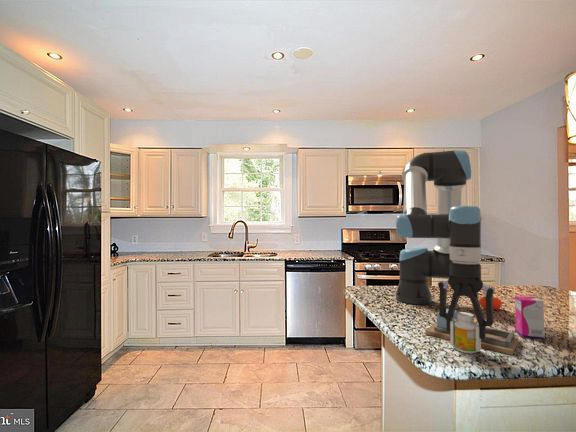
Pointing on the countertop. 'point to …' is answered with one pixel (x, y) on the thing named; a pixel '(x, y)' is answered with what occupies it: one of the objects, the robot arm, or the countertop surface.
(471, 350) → the supplement bottle
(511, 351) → the brown tray with rails
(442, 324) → the block
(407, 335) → the countertop surface
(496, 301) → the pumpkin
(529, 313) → the supplement box
